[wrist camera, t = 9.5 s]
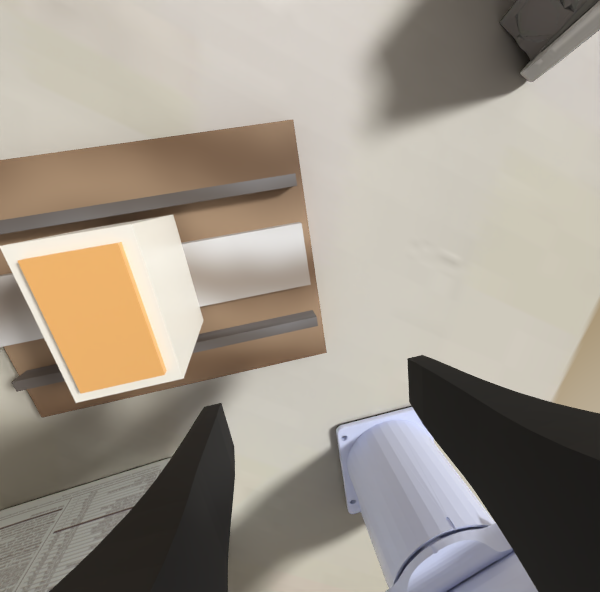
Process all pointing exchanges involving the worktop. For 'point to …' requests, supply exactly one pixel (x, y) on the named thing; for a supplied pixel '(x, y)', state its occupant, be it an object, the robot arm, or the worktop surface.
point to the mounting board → (194, 237)
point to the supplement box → (65, 528)
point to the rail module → (111, 304)
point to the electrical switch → (550, 30)
